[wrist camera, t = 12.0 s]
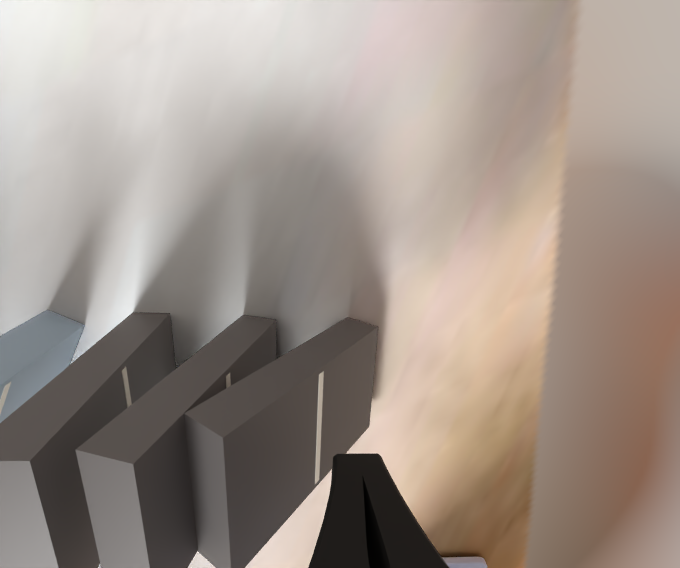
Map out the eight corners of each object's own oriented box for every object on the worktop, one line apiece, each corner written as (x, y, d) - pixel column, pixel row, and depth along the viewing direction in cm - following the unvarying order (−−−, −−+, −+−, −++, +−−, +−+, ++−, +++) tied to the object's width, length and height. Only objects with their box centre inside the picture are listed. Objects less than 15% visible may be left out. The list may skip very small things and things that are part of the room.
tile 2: (276, 319, 15) (133, 464, 8) (276, 419, 17) (158, 617, 10) (242, 315, 16) (74, 449, 8) (246, 413, 17) (108, 600, 10)
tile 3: (170, 313, 15) (31, 460, 8) (180, 413, 17) (72, 615, 9) (132, 312, 15) (-47, 461, 8) (146, 412, 17) (8, 617, 9)
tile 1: (378, 327, 15) (223, 438, 9) (369, 426, 17) (232, 582, 10) (347, 317, 16) (183, 413, 10) (341, 413, 18) (197, 550, 11)
